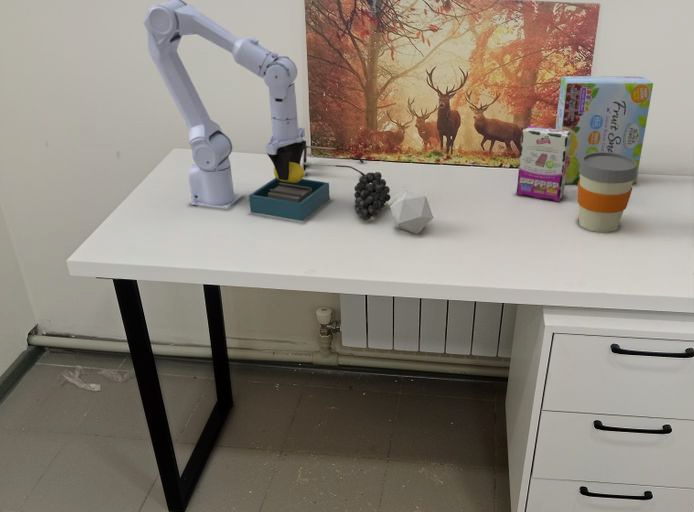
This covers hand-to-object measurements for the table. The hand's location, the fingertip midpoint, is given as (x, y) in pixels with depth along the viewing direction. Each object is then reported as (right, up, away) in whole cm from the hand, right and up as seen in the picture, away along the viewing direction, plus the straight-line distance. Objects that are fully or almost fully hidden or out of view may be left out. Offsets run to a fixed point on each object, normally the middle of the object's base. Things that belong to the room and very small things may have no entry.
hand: (288, 175), depth 169 cm
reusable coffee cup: (+72, -11, 0) cm, 73 cm away
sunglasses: (+8, +8, +26) cm, 28 cm away
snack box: (+76, +5, +25) cm, 80 cm away
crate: (0, -6, +4) cm, 8 cm away
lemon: (0, -1, +1) cm, 1 cm away
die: (+28, -13, -4) cm, 32 cm away
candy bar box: (+61, -2, +15) cm, 62 cm away
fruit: (+18, -8, +3) cm, 20 cm away
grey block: (0, -6, +4) cm, 7 cm away
